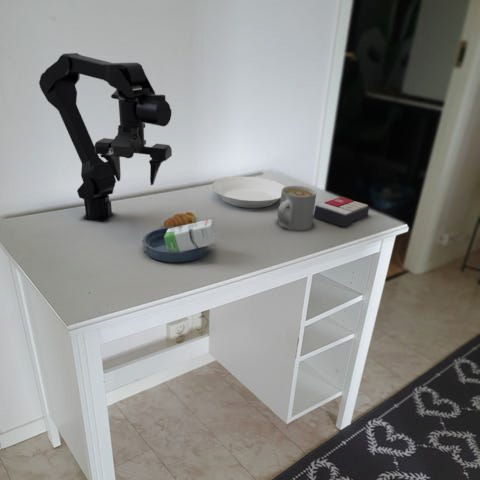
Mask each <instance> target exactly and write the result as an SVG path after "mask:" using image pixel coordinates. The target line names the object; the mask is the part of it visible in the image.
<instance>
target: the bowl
mask: <svg viewBox="0 0 480 480" xmlns="http://www.w3.org/2000/svg"><path fill="white" fill-rule="evenodd" d="M284 187H286V186H285V184H282V183H280V182H278V181H275V180H272V179H269V178H263V177H257V176H228V177H223V178H220V179H217V180H215V181H214V182H212V184H211V189H212V191H213V192H215V193H216V194H217V195H218V196H219V197H220V199H222V200H223V202H225V203H226V204H228V205H232V206H235V207H237V208H238V207H239V208H248V209H261V208H266V207H267V208H268V207H270V206H273V205H274V204H275V203H277V202H278V201H279V200H281V192H282V189H283V188H284Z"/></svg>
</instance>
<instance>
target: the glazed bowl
mask: <svg viewBox="0 0 480 480" xmlns="http://www.w3.org/2000/svg"><path fill="white" fill-rule="evenodd" d="M170 228H174V227H167V228H163V227H160V228H157V229H153V230H151V231H149V232H147V233H146V234H145V235H143V240H142V244H143V251H144V253H145V254H146V255H147V256H149V257H150V258H152V259H155V260H157V261H160V262H164V263H178V264H179V263H189V262H192V261H194V260H198V259H200V258H202V257H204V256H205V255H206V254H207V252H208V250H209V246H205V247H200V248H196V249H192V250H188V251H184V252H168V249H167V246H166V242H165V239H164V236H165V234H166V232H167V230H168V229H170Z"/></svg>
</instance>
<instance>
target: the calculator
mask: <svg viewBox="0 0 480 480" xmlns="http://www.w3.org/2000/svg"><path fill="white" fill-rule="evenodd" d="M369 212H370V206H369V205H368V204H366V203H362V202H359V201H354V200H353V199H349V198H346V197H342V196H339V197H336V198H333V199H330V200H327V201H325V202H322V203H319V204H317V205H315V206H314V213H313V218H315V219H318V220H320V221H324V222H327V223H330V224H333V225H336V226H339V227H342V228H345V227H347V226H350V225H351V224H352V223H353V222H356V221H358V220H362V219H364V218H366V217H368V215H369Z"/></svg>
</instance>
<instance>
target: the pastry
mask: <svg viewBox="0 0 480 480" xmlns="http://www.w3.org/2000/svg"><path fill="white" fill-rule="evenodd" d="M196 222H198V221H197V219H196V216H195V214H194V213H193V212H192V211H191V212H190V211H186V212H185V213H184V212H182V213H176V214H174V215H173V216H171V217H169V218H167V219H166V220H164V221H163V225H162V228H167V227H179V226H183V225H187V224H192V223H196Z"/></svg>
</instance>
